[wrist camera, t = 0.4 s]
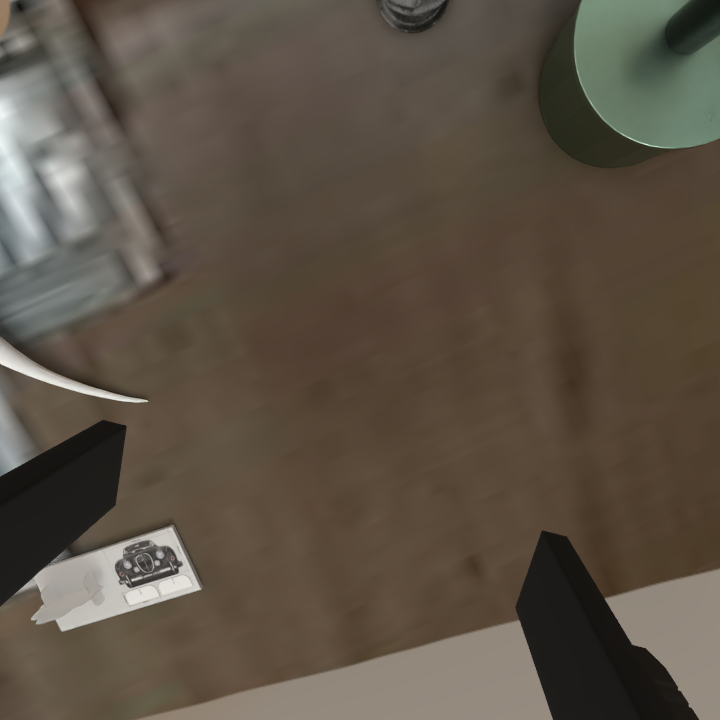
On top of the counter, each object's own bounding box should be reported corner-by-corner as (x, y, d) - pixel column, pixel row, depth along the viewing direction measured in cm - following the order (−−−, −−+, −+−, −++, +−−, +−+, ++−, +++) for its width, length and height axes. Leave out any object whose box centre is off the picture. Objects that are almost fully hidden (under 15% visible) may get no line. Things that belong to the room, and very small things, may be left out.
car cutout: (64, 628, 49) (32, 665, 45) (33, 569, 48) (-3, 600, 44) (203, 586, 47) (183, 620, 43) (174, 524, 46) (150, 552, 42)
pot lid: (572, -74, 28) (624, -173, 22) (804, -92, 27) (930, -202, 21) (562, 157, 31) (607, 129, 24) (776, 147, 30) (882, 115, 23)
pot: (541, 6, 36) (585, -71, 28) (706, -6, 35) (801, -88, 27) (536, 171, 38) (575, 146, 30) (691, 164, 37) (776, 136, 29)
